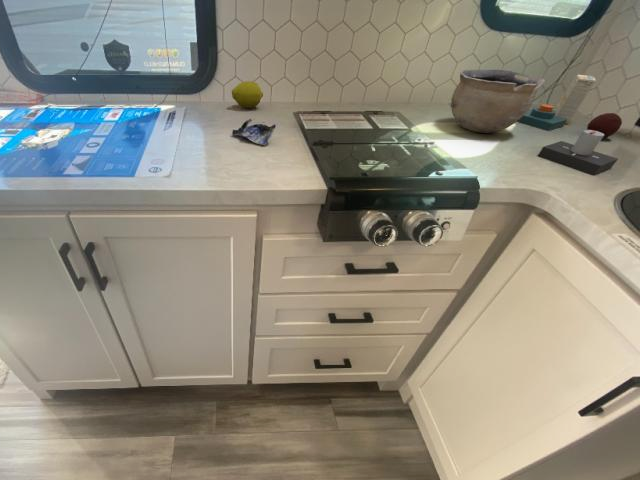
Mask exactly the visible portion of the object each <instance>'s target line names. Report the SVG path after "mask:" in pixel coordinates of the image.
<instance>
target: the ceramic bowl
mask: <svg viewBox="0 0 640 480" xmlns="http://www.w3.org/2000/svg"><path fill="white" fill-rule="evenodd" d="M545 83H546V80H545V79H544V78H543V77H536V76H532V75H529V74H526V73H522V72H521V73H519V72H517V71H512V70H505V69H465V70H462V71H461V72H460V73H459V82H458V83H457V85H456V87H455V89H454V91H453V93H452V95H451V100H450V108H451V113H452V116H453V118H454V120H455V121H456V123H457V125H459V126H460V127H462V128H463V129H466V130H468V131H471V132H476V133H482V134H494V133H495V134H496V133H499V132H501V131H504V130H505V129H508V128H509V127H511V126H512V125H514V124H515V123H516V122H518V120H519V119H520V118H521V117H522V116H523V115H524V114H525V113H526V112H527V111H528V110H531V108H532V105H533V103H534V100H535V98H536V95H537V92H538V91H539V90H540V88H542V87H543V85H544V84H545Z"/></svg>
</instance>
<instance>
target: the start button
mask: <svg viewBox="0 0 640 480" xmlns="http://www.w3.org/2000/svg"><path fill="white" fill-rule="evenodd" d="M539 107H540V108H539V109H538V110H539V111H543V112H551V111H552V110H554V105H551V104H547V103H546V104H545V103H543V104H540V106H539Z"/></svg>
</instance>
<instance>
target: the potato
mask: <svg viewBox="0 0 640 480" xmlns="http://www.w3.org/2000/svg"><path fill="white" fill-rule="evenodd" d="M622 125H623V121H622V118H621V117H620V115H619V114H617V113H616V112H615V113H614V112H607V113H602V114H600V115H597V116H595V117H593V118H592V119H591V120H590V121H589V123H588V124H587V127H586V130H593V131H598V132H601V133H603V134H604V136H603V138H602V139H605V138H609V137H611V136H612V135H614V134H615V133H616V132H618V130H619V129H620V128H621V127H622Z"/></svg>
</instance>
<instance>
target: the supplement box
mask: <svg viewBox="0 0 640 480" xmlns="http://www.w3.org/2000/svg"><path fill="white" fill-rule="evenodd" d="M596 82H597V79H596V78H595V77H594V76H592V75H586V74H576V76H575V77H574V79H573V81H572V83H571V85H570V86H569V88H568V89H567V91H566V92H565V94H564V95H563V97H562V99H561V101H560V102H559V104H558V105H557V106H556V109H555V110H554V111H556V114H555V116H557V117H561V118H564V119H568V120H567V121H566V123H565V124H564V125H568V124H569V123H570V121H571V120H572V118H573V117H574V115H575V114H576V113H577V111H578V110H579V108H580V106H581V105H582V103H583V102H584V100H585V98H586V97H587V96H588V94H589V93H590V91H591V89H592V88H593V87H594V86H595V83H596Z"/></svg>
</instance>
